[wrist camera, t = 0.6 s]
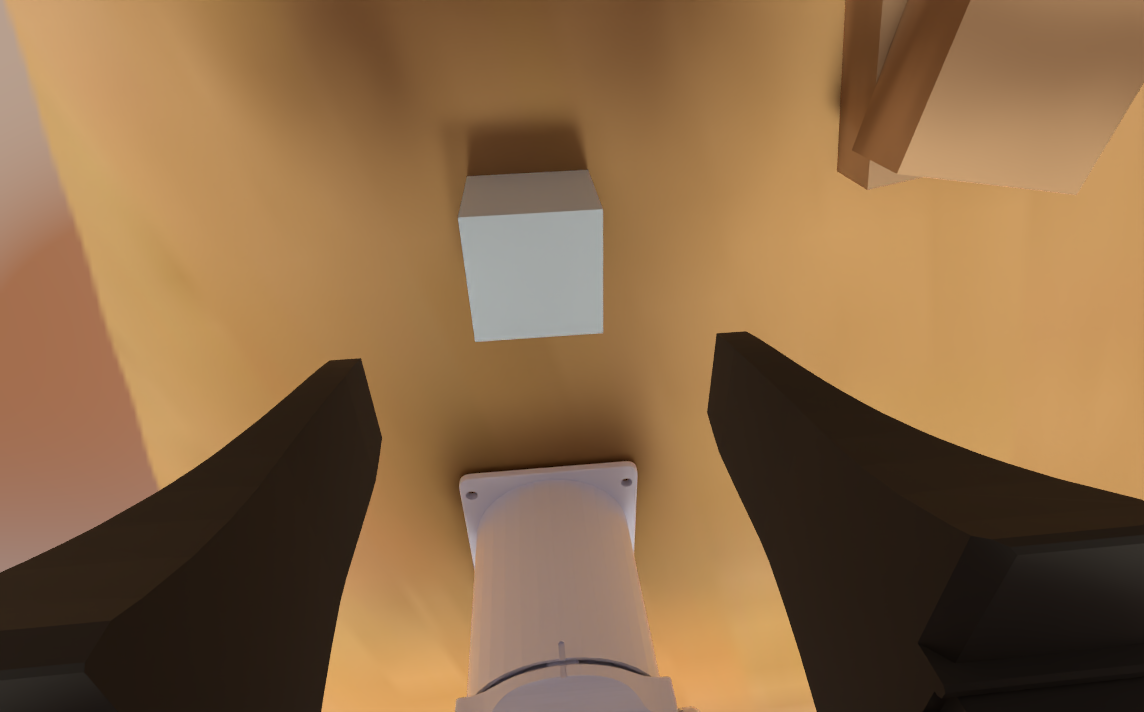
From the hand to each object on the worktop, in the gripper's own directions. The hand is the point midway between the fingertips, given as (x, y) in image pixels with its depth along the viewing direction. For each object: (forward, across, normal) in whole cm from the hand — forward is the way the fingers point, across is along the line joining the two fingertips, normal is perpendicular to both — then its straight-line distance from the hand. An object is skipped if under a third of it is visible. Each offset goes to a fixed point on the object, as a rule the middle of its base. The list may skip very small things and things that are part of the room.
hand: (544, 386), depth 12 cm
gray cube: (+10, 0, 0) cm, 10 cm away
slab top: (+8, -13, -5) cm, 16 cm away
